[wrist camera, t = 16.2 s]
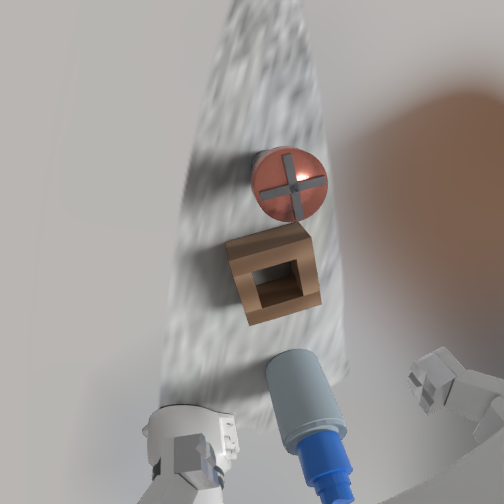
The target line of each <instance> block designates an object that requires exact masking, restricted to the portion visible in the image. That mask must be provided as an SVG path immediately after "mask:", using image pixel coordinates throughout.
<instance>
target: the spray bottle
mask: <svg viewBox="0 0 504 504" xmlns="http://www.w3.org/2000/svg"><path fill="white" fill-rule="evenodd" d="M265 376H266V380H267V384H268V388H269V392H270V396H271V400H272V404H273V408H274V412H275V415H276V419H277V423H278V427H279V431H280V435H281V439H282V443H283V445H284V447H285V448H286V450H287V452H288V453H290V454H292V455H298V456H299V460H300V463H301V467H302V470H303V474H304V477H305V480H306V484H307V486H309V487H314V488H315V491H316V494H317V496H320V499H321V502H322V504H350V503H352V502H353V501H354V497H353V494H352V491H351V489H350V484H351V482H350V479H349V476H348V475H349V474H351V472H352V471H353V469H352V466H351V464H350V461H349V459H348V456H347V454H346V451H345V449H344V446H343V444H342V441H341V440H342V439H343V438H344V437H345V435H346V433H347V430H346V422H345V420H344V417H343V415H342V413H341V411H340V409H339V406H338V404H337V402H336V399H335V397H334V395H333V392H332V390H331V388H330V385H329V383H328V381H327V379H326V376H325V374H324V372H323V370H322V367H321V365H320V363H319V361H318V358H317V356H316V355H315V354H314V353H313V352H311V351H308V350H304V349H294V350H289V351H286V352H283V353H281V354H279V355H278V356H276V357H274V358H273V359H272V360H271V361H270V362H269V363H268V365H267V367H266V370H265Z"/></svg>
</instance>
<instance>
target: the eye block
mask: <svg viewBox="0 0 504 504" xmlns="http://www.w3.org/2000/svg"><path fill="white" fill-rule="evenodd" d="M225 244H226V250H227V256H228V262H229V265H230V268H231V271H232V274H233V277H234V280H235V284H236V287H237V290H238V293H239V296H240V299H241V302H242V305H243V308H244V311H245V314H246V317H247V320H248V323H249V326H251V325H255V324H258V323H262V322H265V321H269V320H272V319H276V318H279V317H282V316H286V315H289V314H292V313H295V312H299V311H302V310H305V309H308V308H311V307H315V306H318V305H321V304H322V303H321V296H320V289H319V282H318V276H317V269H316V263H315V257H314V251H313V245H312V239H311V236H310V235H309V234H308V233H307V232H306V230H305V229H304V228H303V227H302V226H301V224H300V223H299V222H295V223H291V224H288V225H284V226H280V227H277V228H273V229H270V230H266V231H263V232H259V233H256V234H252V235H249V236H245V237H242V238H238V239H235V240H231V241H228V242H225ZM288 261H290V265H291V270H292V274H293V275H291V276H288V277H285V278H281V279H278V280H275V281H271V282H268V283H264V284H261V285H258V286H255V282H254V279H253V275H252V272H254V271H257V270H261V269H264V268H268V267H271V266H274V265H278V264H281V263H285V262H288Z"/></svg>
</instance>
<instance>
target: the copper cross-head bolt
mask: <svg viewBox="0 0 504 504" xmlns="http://www.w3.org/2000/svg"><path fill="white" fill-rule="evenodd" d="M251 166H252V174H251V189H252V192H253V194H254V197H255V198H256V200H257V202H258V203H259V205H260V207H261V208H262V210H263V211H264V212H265V213H266V214H267V215H269V216H270V217H272V218H274V219H276V220H278V221H282V222H297V221H301V220H304V219H306V218H308V217H310V216H311V215H313V214H314V213H315V212H316V211H317V210H318V209H319V208H320V206H321V205H322V203H323V201H324V199H325V197H326V194H327V189H328V180H327V175H326V172H325V169H324V167H323V165H322V164H321V163H320V161H319V160H318V159H317V158H316V157H314V156H313V155H311V154H310V153H308V152H305V151H303V150H300V149H298V148H295V147H289V146H281V147H276V148H273V149H271V150H264V151H261V152H259V153H258V154H256V156H255V157H254V158H253V161H252V165H251Z"/></svg>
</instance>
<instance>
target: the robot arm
mask: <svg viewBox="0 0 504 504" xmlns="http://www.w3.org/2000/svg"><path fill="white" fill-rule="evenodd" d="M410 370H411V371H412V372H411V374H410V375H409V377H408V385H409V388H410V391H411V393H412V394H413V396H415V397H417V398H420V406H421V407H422V408H423V410H424V411H425V413H426V414H427V415H429V414H431V413H433V412H435V411H436V410H438V409H440V408H442V407H445V408H447V409H449V410H451V411H453V412H456V413H458V414H460V415H462V416H464V417H466V418H468V419H470V420H473V421H475V422H477V423H479V424H478V425H477V427H476V429H475V431H474V433H473V437H474V438H475V440H476V441H477V443H478V444H479V446H478V447H476V448H475V449H474V450H472V451H471V452H469V453H468V454H467V455H465V456H464V457H462V458H461V459H459V460H458V461H456V462H455V463H453V464H452V465H450V466H448V467H447V468H445V469H444V470H442V471H440V472H439V473H437V474H436V475H434V476H432V477H430V478H429V479H427V480H425V481H423V482H421V483H419V484H418V485H416V486H414V487H412V488H410V489H408V490H406V491H404V492H402V493H400V494H398V495H396V496H394V497H392V498H390V499H388V500H385V501H383V502H381V503H379V504H504V379H500V378H497V377H493V376H489V375H486V374H483V373H479V372H476V371H472V370H468V371H466V370H465V368H464V367H463V366H462V365H461V364H460V363H459V362H458V361H457V360H456V359H455V358H454V356H452V354H451V353H450V352H449V351H448V350H447V349H446V348H444V347H441V348H439V349H437V350H436V351H434V352H431V353H430V354H427V355H426V356H424V357H422V358H420V359H418V360H416V361H414V362H413V363H412V364H411V366H410ZM142 431H143V435H144V436H146V437H147V451H148V462H149V464H151V465H152V466H153V474H152V480H153V482H152V483H151V485H150V486H149V488H148V489H147V491H146V492H145V493H144V495H143V496H142V497H141V499H140V500H139V502H138V503H137V504H224V503H223V497H222V489H223V488H224V473H225V472H227V471H228V470H229V469H230V468H231V460H232V459H238V458H237V452H239V442H238V437H237V431H236V426H235V420H234V416H233V415H230V414H224V413H217V412H213V411H211V410H208V409H206V408H202V407H198V406H191V405H175V406H168V407H164V408H161V409H159V410H157V411H155V412H154V413H153V414H152V415H151V416H150V418H149V423H148V425H146V426H145V427H144V428H143V429H142ZM230 459H231V460H230Z"/></svg>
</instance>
